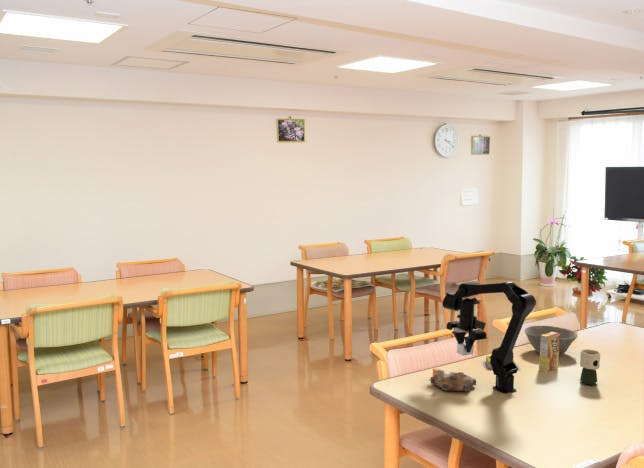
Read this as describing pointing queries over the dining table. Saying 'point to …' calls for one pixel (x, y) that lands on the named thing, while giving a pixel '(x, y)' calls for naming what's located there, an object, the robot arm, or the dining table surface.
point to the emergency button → (488, 365)
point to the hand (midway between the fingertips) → (465, 350)
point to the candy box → (549, 351)
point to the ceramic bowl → (537, 331)
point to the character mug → (589, 365)
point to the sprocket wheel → (453, 381)
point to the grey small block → (463, 349)
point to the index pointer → (435, 371)
